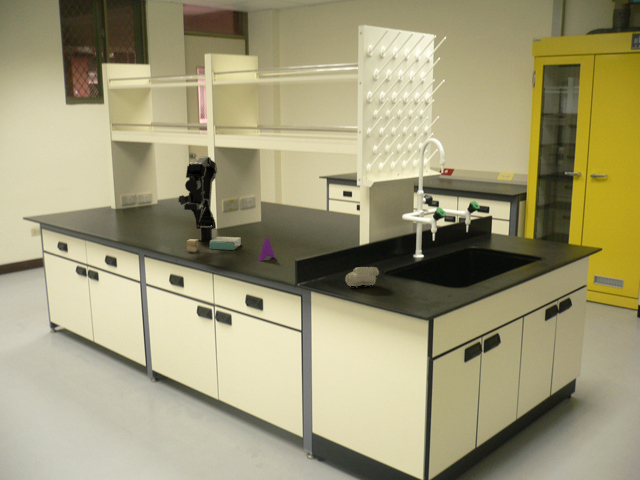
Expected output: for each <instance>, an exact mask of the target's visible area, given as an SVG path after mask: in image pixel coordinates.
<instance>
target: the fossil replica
mask: <svg viewBox="0 0 640 480" xmlns="http://www.w3.org/2000/svg"><path fill="white" fill-rule="evenodd" d="M379 274H380V271H379V269H378V267H375V266H369V267H368V266H366V267H365V266H363V267H362V266H360V267H355V268H354V269H353V271H351V272H349V273H347V274H346V275H345V283H346V284H347V286H349V287H351V286H361V285H372V286H374V285H375V284H376V280H377V276H379ZM361 287H362V286H361Z"/></svg>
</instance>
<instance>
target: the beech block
mask: <svg viewBox="0 0 640 480" xmlns="http://www.w3.org/2000/svg"><path fill="white" fill-rule="evenodd" d="M198 240H199V239H194V238H192V239H191V238H190V239H188V240H186V252H193V253H195V252H198V251H199V241H198Z"/></svg>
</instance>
